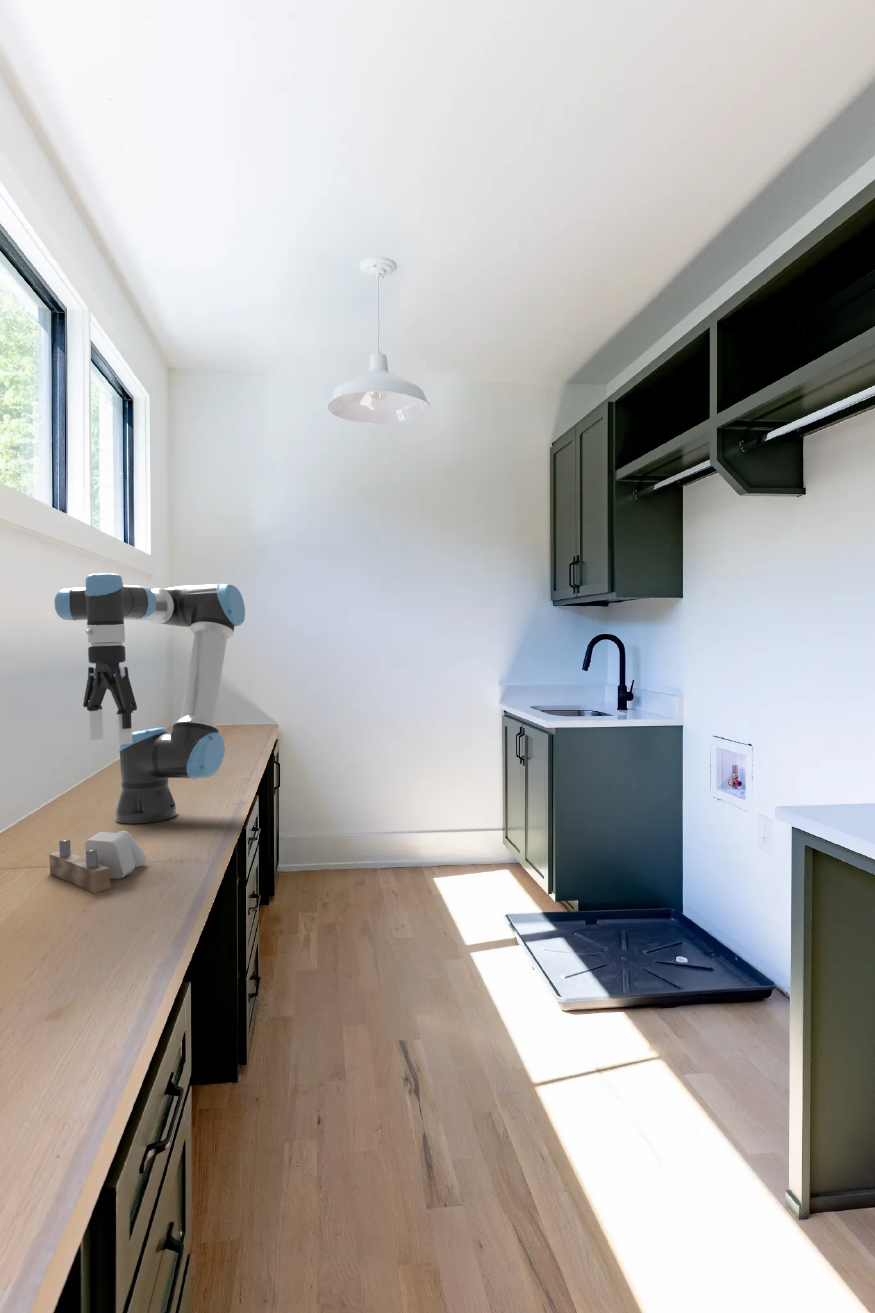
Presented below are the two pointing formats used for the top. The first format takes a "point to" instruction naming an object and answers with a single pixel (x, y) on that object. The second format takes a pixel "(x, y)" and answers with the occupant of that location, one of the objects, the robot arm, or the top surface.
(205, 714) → the robot arm
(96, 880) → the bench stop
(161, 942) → the top surface
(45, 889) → the top surface
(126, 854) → the white knobbed block
